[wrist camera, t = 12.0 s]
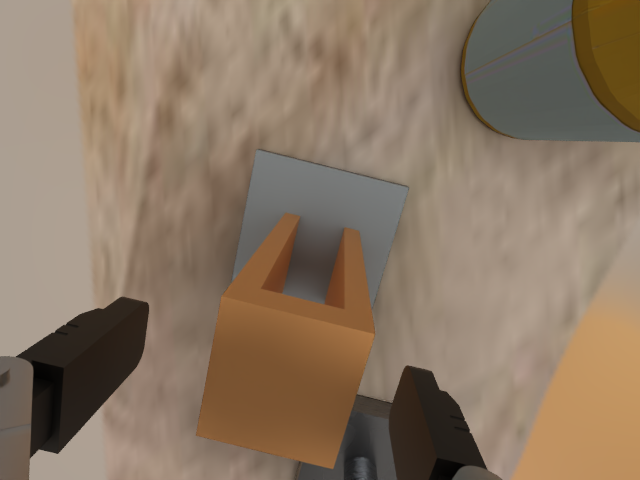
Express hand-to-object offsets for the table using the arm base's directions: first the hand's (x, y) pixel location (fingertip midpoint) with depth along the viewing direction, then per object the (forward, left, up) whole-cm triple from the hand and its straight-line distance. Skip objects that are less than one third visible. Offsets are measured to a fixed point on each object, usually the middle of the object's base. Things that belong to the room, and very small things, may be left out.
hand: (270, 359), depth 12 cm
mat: (0, 0, -10) cm, 10 cm away
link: (0, -1, -10) cm, 10 cm away
